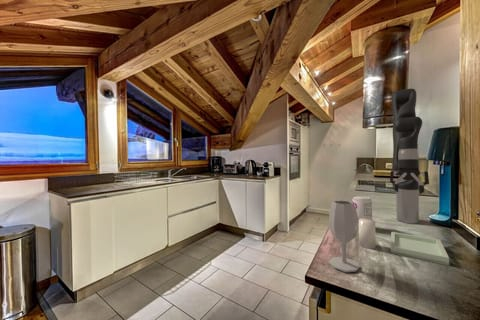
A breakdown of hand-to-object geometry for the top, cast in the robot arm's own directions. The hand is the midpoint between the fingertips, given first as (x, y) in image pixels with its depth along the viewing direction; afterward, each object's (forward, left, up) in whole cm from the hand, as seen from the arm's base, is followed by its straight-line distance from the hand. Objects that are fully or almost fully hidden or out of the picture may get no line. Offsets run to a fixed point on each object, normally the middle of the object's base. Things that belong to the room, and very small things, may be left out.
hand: (408, 192), depth 96 cm
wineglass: (+53, -19, -17) cm, 59 cm away
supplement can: (+11, -18, -17) cm, 27 cm away
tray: (+26, +1, -17) cm, 31 cm away
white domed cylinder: (+32, -14, -17) cm, 39 cm away
